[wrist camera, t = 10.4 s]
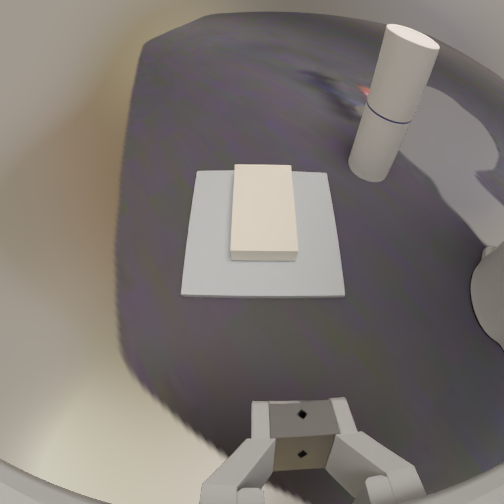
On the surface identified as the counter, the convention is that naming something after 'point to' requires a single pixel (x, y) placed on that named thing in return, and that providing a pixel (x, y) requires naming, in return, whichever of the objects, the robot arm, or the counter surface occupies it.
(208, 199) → the mat
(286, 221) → the tile
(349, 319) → the counter surface
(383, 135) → the cylindrical container
